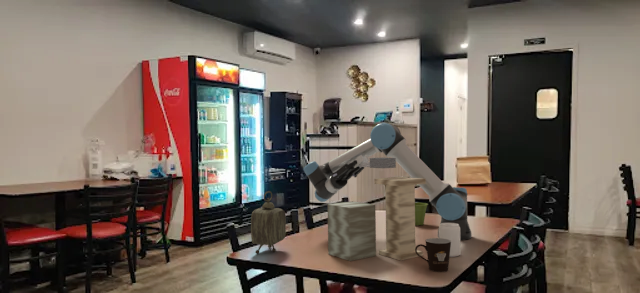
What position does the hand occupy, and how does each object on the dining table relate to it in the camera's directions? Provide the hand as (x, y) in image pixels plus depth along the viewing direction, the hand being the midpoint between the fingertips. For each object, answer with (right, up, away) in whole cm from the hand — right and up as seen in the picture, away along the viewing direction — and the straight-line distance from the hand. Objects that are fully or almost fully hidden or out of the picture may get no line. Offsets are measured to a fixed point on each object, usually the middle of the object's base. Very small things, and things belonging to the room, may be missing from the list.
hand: (364, 157), depth 194 cm
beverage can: (+32, -38, -18) cm, 52 cm away
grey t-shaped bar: (+2, -4, -3) cm, 5 cm away
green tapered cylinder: (+33, -37, +49) cm, 70 cm away
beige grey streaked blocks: (+3, -38, -16) cm, 41 cm away
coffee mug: (+20, -38, -37) cm, 57 cm away
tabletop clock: (-40, -39, -8) cm, 56 cm away
